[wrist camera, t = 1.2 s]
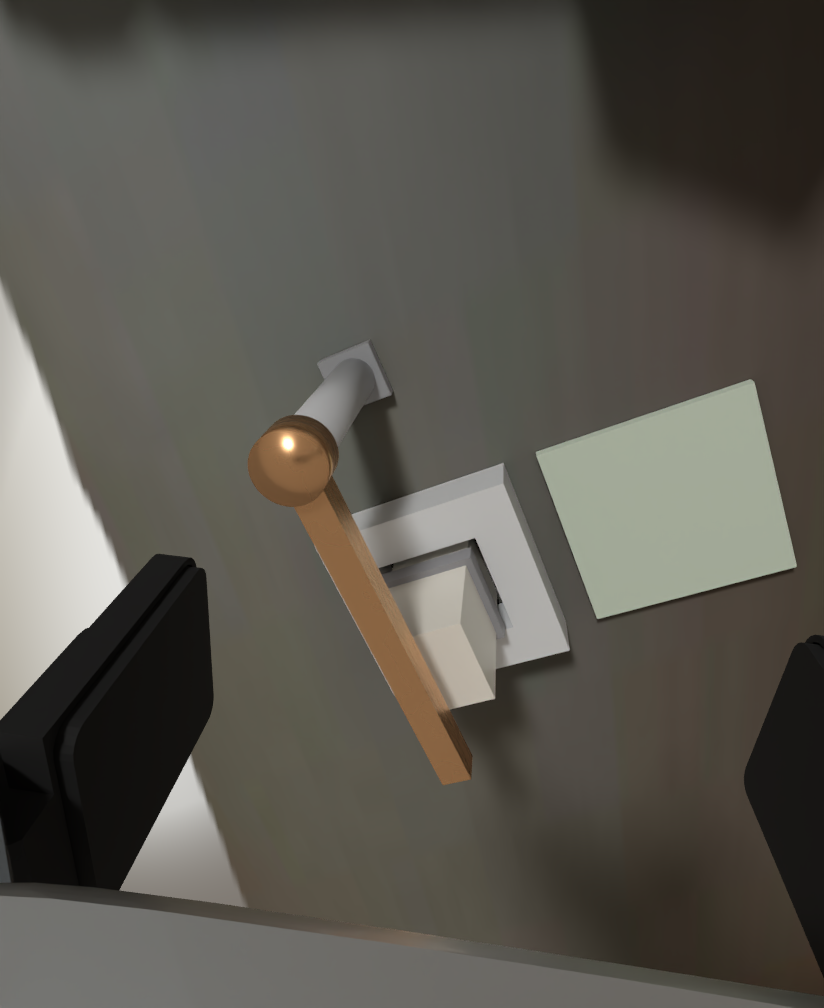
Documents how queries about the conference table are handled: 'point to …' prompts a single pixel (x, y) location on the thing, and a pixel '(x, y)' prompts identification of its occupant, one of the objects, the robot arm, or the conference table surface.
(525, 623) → the socket block
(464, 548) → the plug
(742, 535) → the mat
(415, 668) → the wooden bar
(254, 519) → the conference table surface
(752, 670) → the conference table surface
